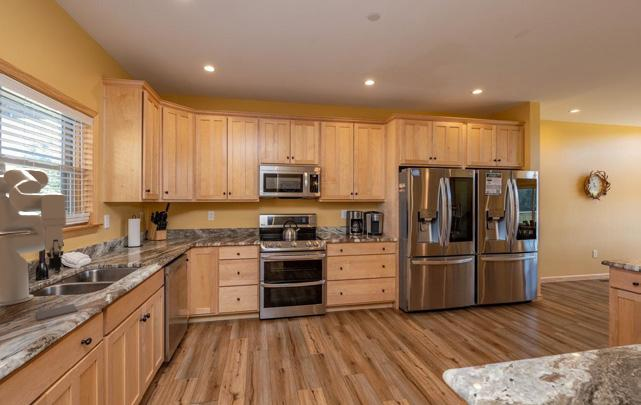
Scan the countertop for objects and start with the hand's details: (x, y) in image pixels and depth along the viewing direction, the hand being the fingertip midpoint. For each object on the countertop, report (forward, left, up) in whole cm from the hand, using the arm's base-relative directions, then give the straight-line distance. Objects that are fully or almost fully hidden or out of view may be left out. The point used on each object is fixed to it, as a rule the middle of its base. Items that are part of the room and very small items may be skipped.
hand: (55, 266), depth 117 cm
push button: (0, 0, -3) cm, 3 cm away
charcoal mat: (0, 0, -19) cm, 19 cm away
